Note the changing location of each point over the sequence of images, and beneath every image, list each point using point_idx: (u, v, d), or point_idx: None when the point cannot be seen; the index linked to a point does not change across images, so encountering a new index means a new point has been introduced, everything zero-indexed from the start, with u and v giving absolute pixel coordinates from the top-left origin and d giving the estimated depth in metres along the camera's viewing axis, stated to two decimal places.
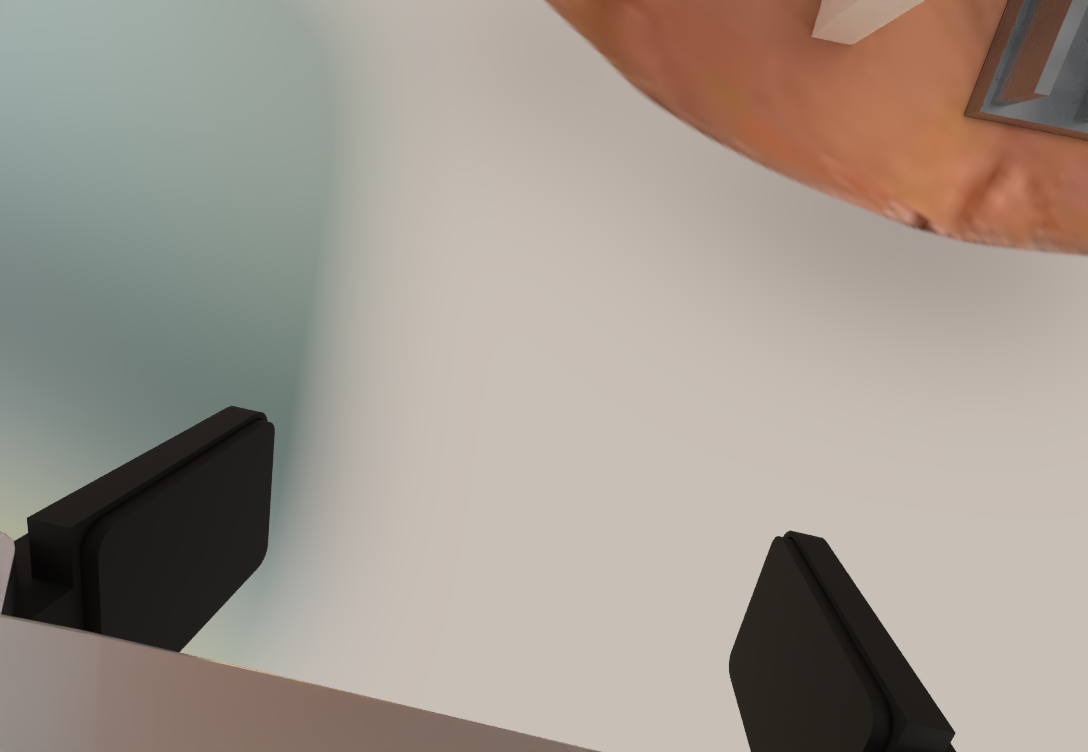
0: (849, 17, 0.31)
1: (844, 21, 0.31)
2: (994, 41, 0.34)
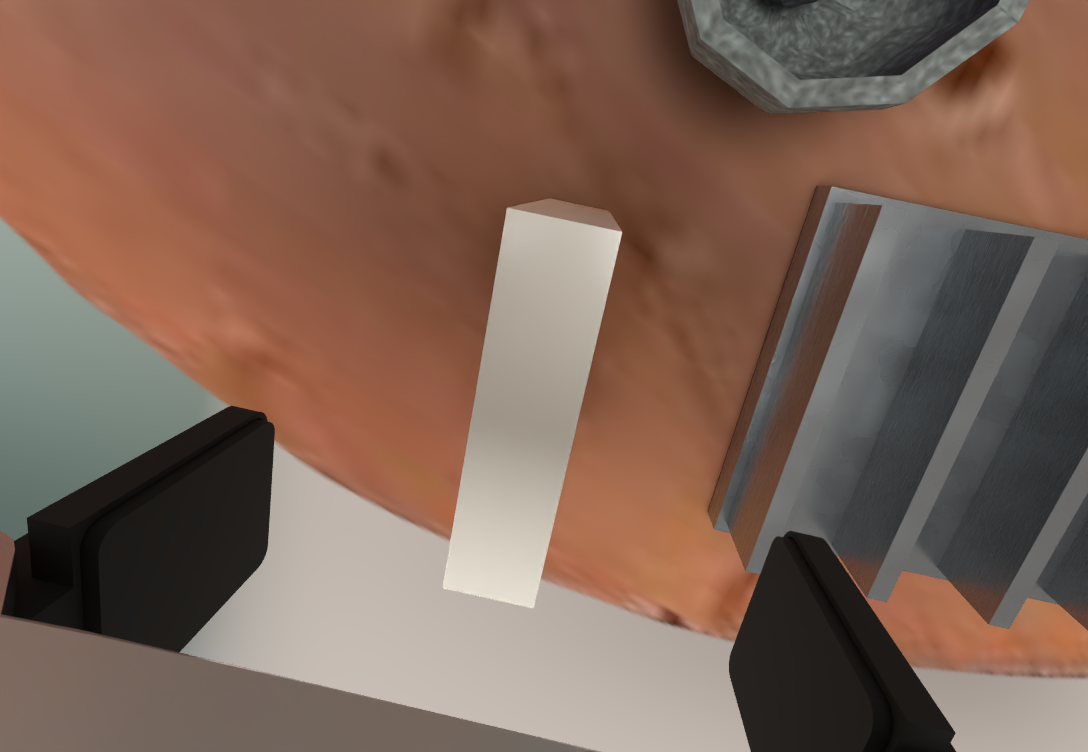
0: None
1: None
2: (734, 437, 0.26)
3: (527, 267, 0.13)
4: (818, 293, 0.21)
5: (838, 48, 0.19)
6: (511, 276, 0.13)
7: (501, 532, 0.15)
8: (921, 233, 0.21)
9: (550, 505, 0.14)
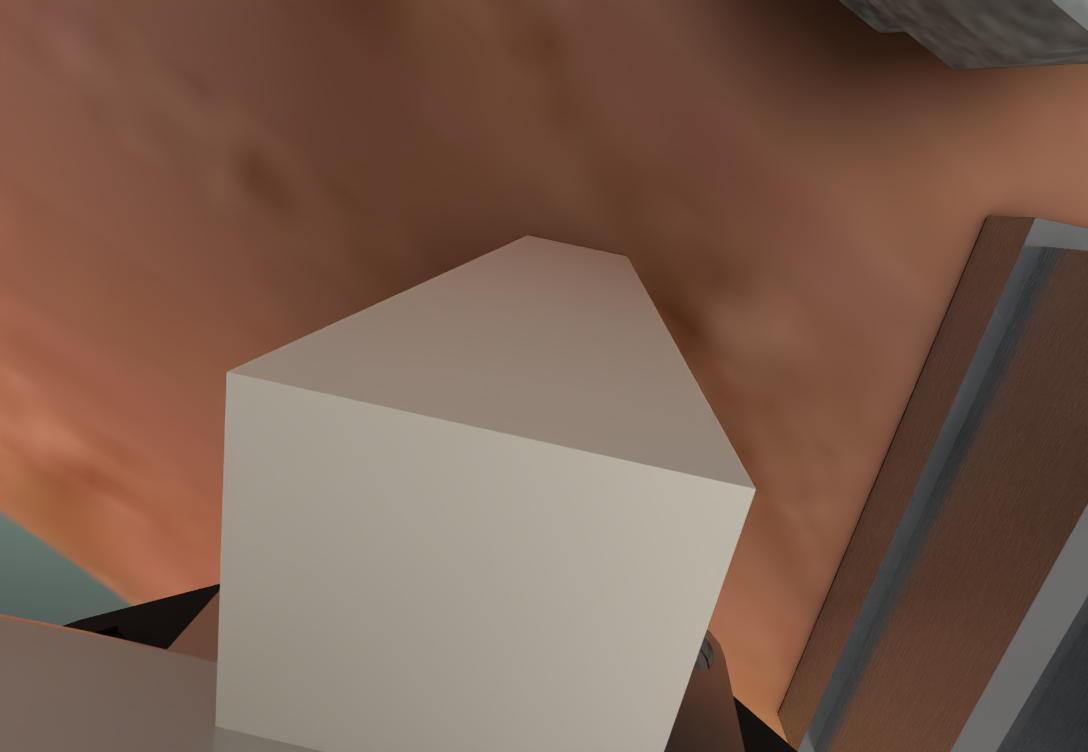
0: None
1: None
2: (825, 611, 0.16)
3: (342, 604, 0.03)
4: (1012, 411, 0.12)
5: None
6: (283, 632, 0.03)
7: None
8: None
9: None
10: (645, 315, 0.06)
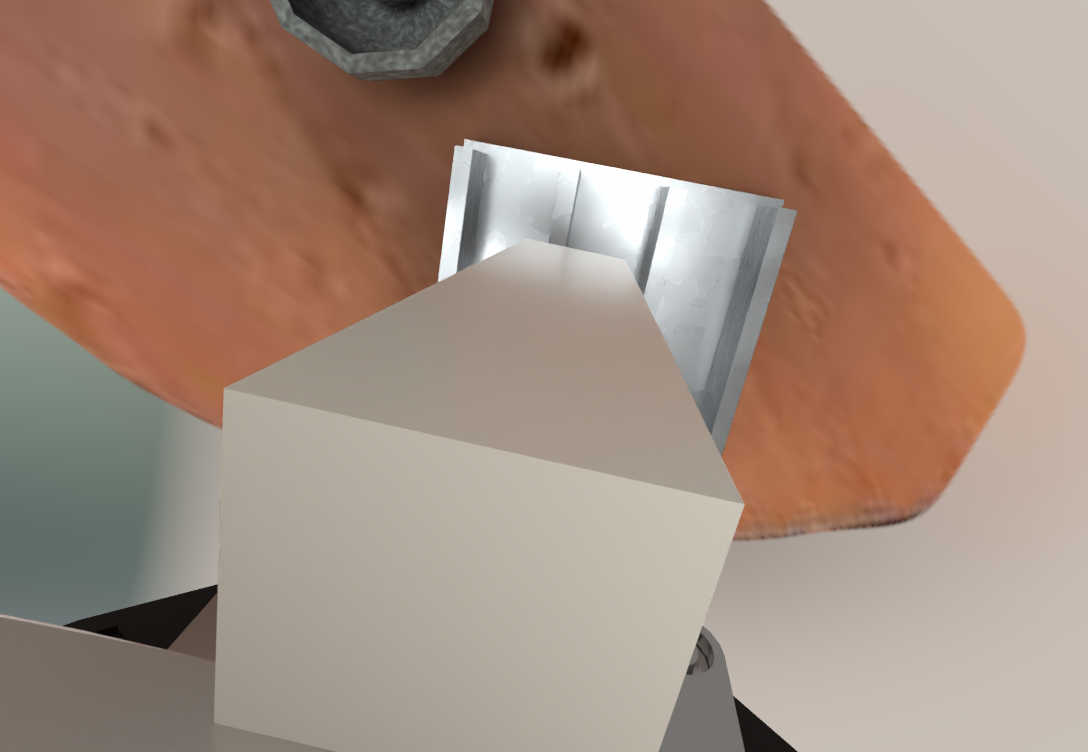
0: None
1: None
2: None
3: (338, 615, 0.03)
4: None
5: None
6: (280, 641, 0.03)
7: None
8: (534, 173, 0.29)
9: None
10: (641, 322, 0.06)
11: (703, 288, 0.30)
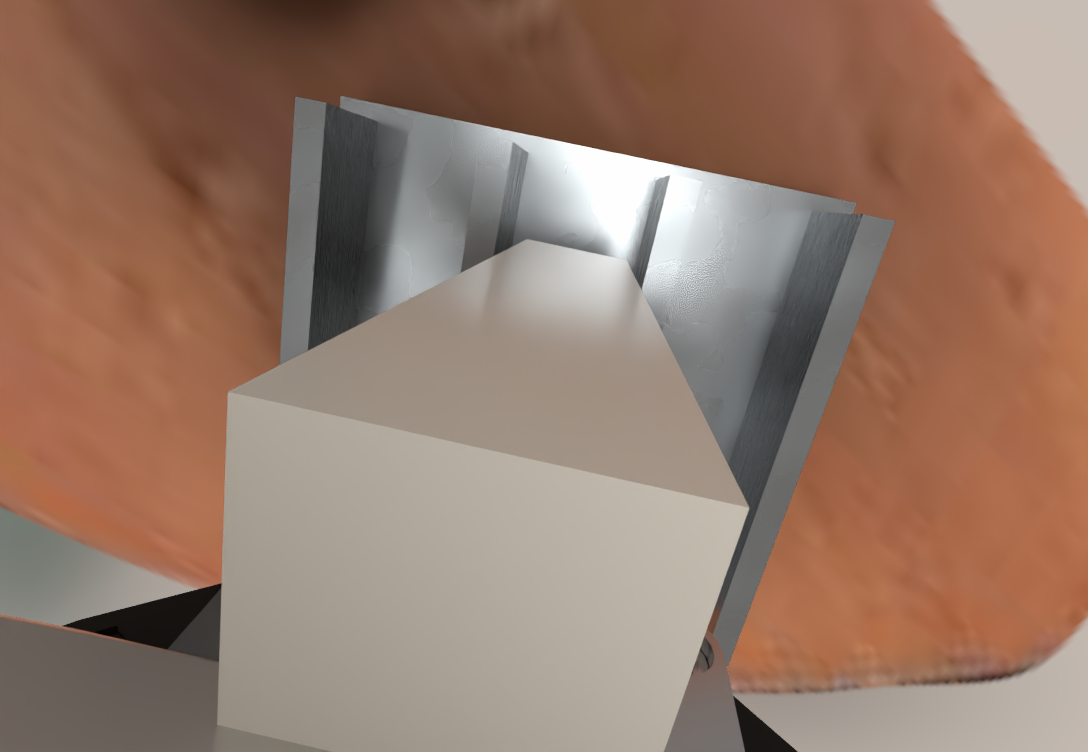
0: None
1: None
2: None
3: (343, 620, 0.03)
4: None
5: None
6: (283, 646, 0.03)
7: None
8: (454, 152, 0.18)
9: None
10: (643, 323, 0.06)
11: (721, 340, 0.19)
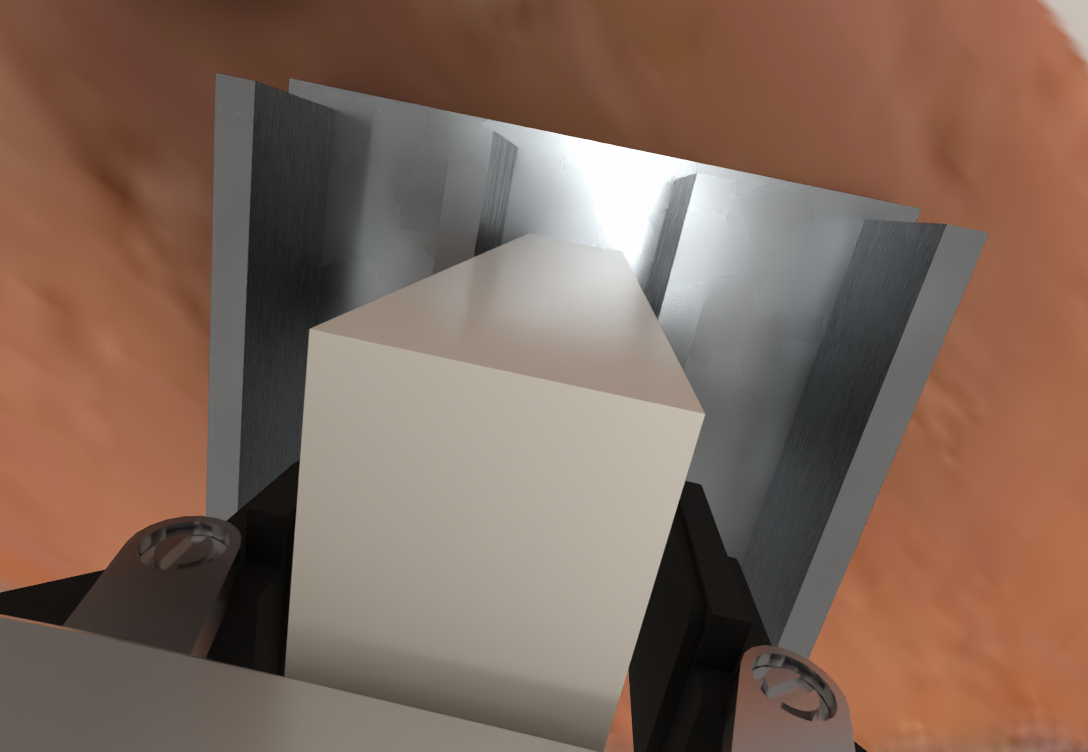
0: None
1: None
2: None
3: (392, 510, 0.04)
4: None
5: None
6: (345, 534, 0.04)
7: None
8: (427, 147, 0.15)
9: None
10: (634, 300, 0.07)
11: (751, 373, 0.16)
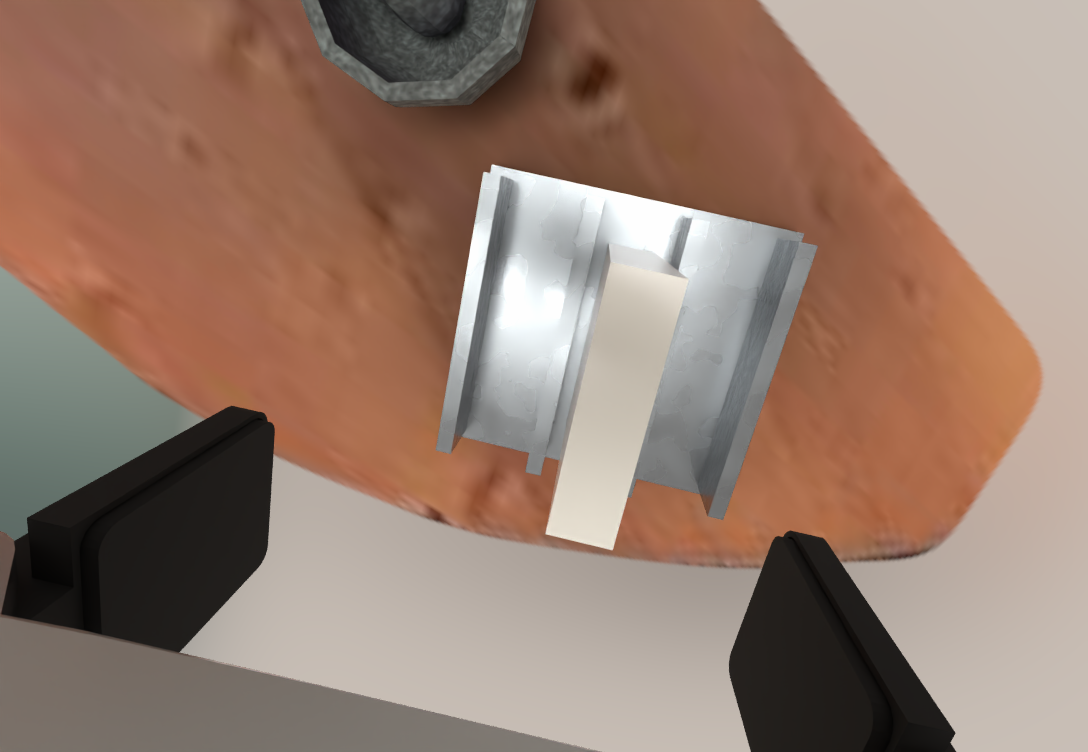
0: None
1: None
2: None
3: (622, 301, 0.18)
4: None
5: None
6: (611, 307, 0.18)
7: (592, 491, 0.20)
8: (559, 199, 0.29)
9: (629, 470, 0.20)
10: (669, 266, 0.22)
11: (721, 317, 0.30)
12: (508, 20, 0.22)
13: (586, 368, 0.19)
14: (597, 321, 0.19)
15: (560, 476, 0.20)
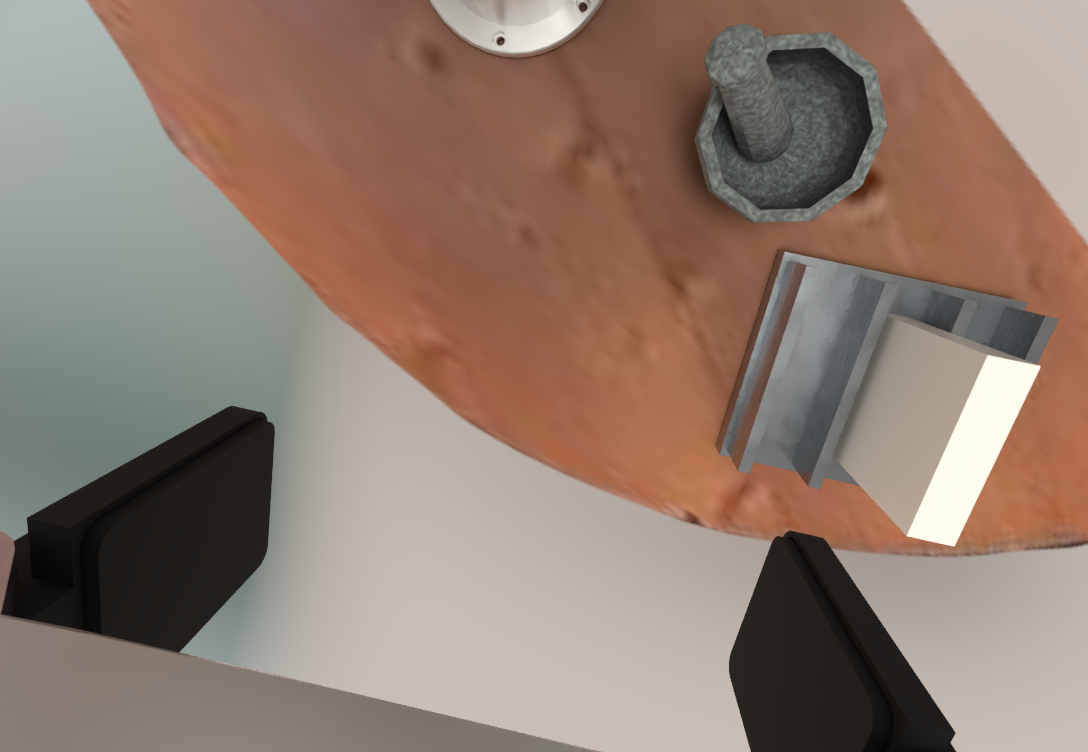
0: None
1: None
2: (731, 398, 0.42)
3: (991, 380, 0.27)
4: (777, 311, 0.38)
5: (785, 182, 0.36)
6: (982, 384, 0.27)
7: (946, 506, 0.29)
8: (835, 277, 0.38)
9: (976, 491, 0.29)
10: (982, 345, 0.31)
11: None
12: (859, 168, 0.31)
13: (957, 424, 0.28)
14: (970, 393, 0.28)
15: (925, 496, 0.29)
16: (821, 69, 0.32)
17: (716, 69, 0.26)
